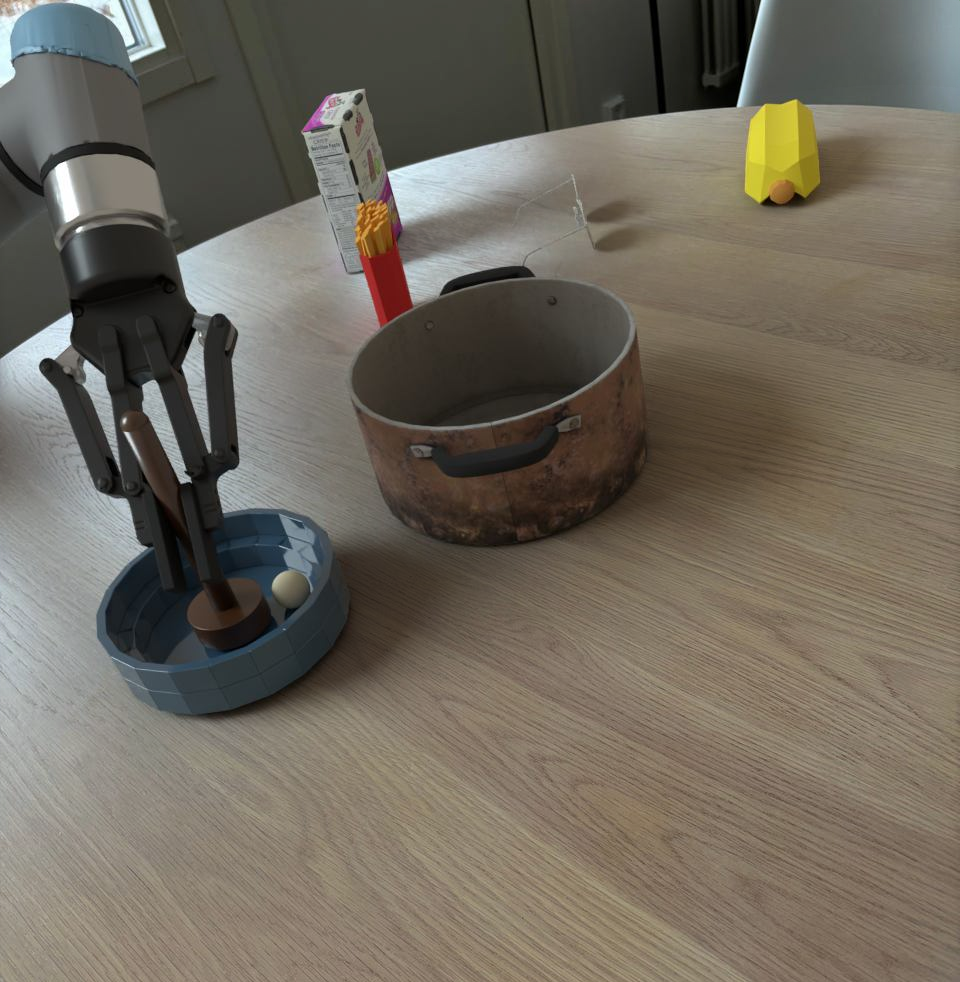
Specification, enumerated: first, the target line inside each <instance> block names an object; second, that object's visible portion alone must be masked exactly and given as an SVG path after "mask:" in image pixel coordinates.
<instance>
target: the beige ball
mask: <svg viewBox="0 0 960 982" xmlns="http://www.w3.org/2000/svg"><path fill="white" fill-rule="evenodd" d="M272 595H273V597H274V599H275V601H276V602H277V603H278V604H279V605H281V606H282V607H285V608H289V609H293V608H298V607H300V606H302V605H303V604H304V603H305V602H306V600H307V599H308V597H309V596H310V584H309V581H308V579H307V578H306V577H305V576H304V575H303V574H302V573H300V572H297V571H293V570H289V571H285V572H282V573H280V574H279V575H278V576H277V577H276V578H275V580H274V581H273V584H272Z"/></svg>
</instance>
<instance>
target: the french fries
mask: <svg viewBox="0 0 960 982" xmlns="http://www.w3.org/2000/svg"><path fill="white" fill-rule="evenodd" d="M365 204H366V206H364V204H363V202H362V204H361V203H360V204H359V205H358V207H357V213H358V215H359V216H358V217H357V221H356V223H357V228H356V229H355V233H356V236H357V238H356V239H355V243H356V245H357V248H358V250H359V253H360V255H359V257H360V261H361V264H362V267H363V270H364V272H363V274H364V277H365V280H366V283H367V287H368V290H369V294H370V296H371V301H372V303H373V307H374V310H375V313H376V317H377V320H378V323H379V327H380V328H381V327H383V326H384V325H386V324H387V323H388V322H390V321H391V320H393V319H394V318H396V317H397V316H399V315H401V314H403V313H405V312H407V311H408V310H410V309H412V308H414V304H413V300H412V295H411V293H410V289H409V288H410V287H409V284H408V281H407V277H406V276H407V275H406V273H405V269H404V266H403V262H402V257H401V253H400V250H399V245H398V242H397V241H398V240H397V241H396V238H395V234H394V230H393V227H392V226H390V219H389V211H388V207H387V205H386V203H385V204H384V205H383V203H382V200H381V201H380V202H379V203H378V204H377V207H376V201H375V200H373V201H372V202H371V200H370V199H369V200H368V201H367V202H366V203H365Z"/></svg>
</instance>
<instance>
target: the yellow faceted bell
mask: <svg viewBox="0 0 960 982" xmlns="http://www.w3.org/2000/svg"><path fill="white" fill-rule="evenodd" d="M817 139H818V138H817V134H816V127H815V122H814V115H813V111H812V110H811V109H809V108H808V107H807V106H806V105H804V104H803V103H802V102H801V101H800V100H798V99H796V98H795V99H792V100H790V101H786V102H784V103H780V104H779V103H764V105H763V106H762V107H761V108H760V109H759V110H758V111H757V112H756V114H755V115H754V116H753V117H752V118H751V119H750V121H749V128H748V137H747V144H746V150H745V151H746V153H745V171H744V172H745V173H744V193H745V194H746V195H748V196H749V197H750V198H751V199H752V200H754V201H755V202H756V203H757V204H759V205H762V203H764V202H765V201H766V200H767V199H770V200H771V201H772V202H774V203H776V204H778V205H782V204H787V203H788V202H789V201H790V200H792V198H794V196H795V193H797V194H798V195H800V196H801V197H802V198H803V199H804V200H805V199H806V198H807V197H808V196H809V195H810V194H811V193H812V192H813V191H814V190H815V189H816V187H818V186H819V184H820V183H821V175H820V158H819V149H818V147H819V146H818V140H817Z"/></svg>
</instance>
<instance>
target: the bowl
mask: <svg viewBox="0 0 960 982" xmlns="http://www.w3.org/2000/svg"><path fill="white" fill-rule="evenodd" d="M223 515H224V519H225V524H224V529H223V530H219V531H215V532H212V533H213V537H214V541H215V546H216V550H217V554H218V558H219V563H220V566H221V568H222V570H223V572H224V574H225V576H226V578H227V579H230V578H248V579H251V580H253V581H255V582H257V583H258V584H259V585H260V587H261V589H262V591H263V593H264V595H265V598H266V600H267V602H268V604H269V606H270V609H271V618H270V621H269V623H268V625H267V626H266V628H265V629H264V630H263V631H262V632H261V633H260V634H259V635H258V636H257V637H256V638H254V639H253V640H251V641H250V642H248V643H246V644H244V645H241V646H239V647H236V648H232V649H226V650H214V649H210V648H207V647H205V646H204V645H203V644H201V642H200V641H199V639H198V637H197V636H196V634H195V632H194V630H193V628H192V626H191V624H190V622H189V621H188V618H187V612H188V608H189V606H190V604H191V602H192V601H193V599H194V598H195V597H196V596H197V595H198V594H199V593H200V592H201V591H203V588H202V586H201V584H200V582H199V580H198V578H197V576H196V574H195V572H194V571H193V569H192V567H191V565H190V563H189V561H188V559H187V557H186V555H185V553H184V551H183V549H182V547H181V545H180V543H179V541H178V539H177V537H176V539H177V544H178V548H179V552H180V557H181V561H182V565H183V570H184V574H185V579H186V583H187V587H188V592H184V593H181V594H175V593H171V592H167V591H164V590H163V586H162V581H161V577H160V573H159V568H158V564H157V559H156V555H155V551H154V547H151V548H148V547H146V548H145V549H144V550H143V551H142V552H140V553H139V554H138V555H137V556H135V557H134V558H133V559H132V560H130V561H129V562H128V563H126V565H125V566H124V567H123V568H122V570H121V571H120V572H119V573H118V574H117V575H116V576H115V578H114V579H113V581H112V582H111V583H110V584H109V585H108V587H106V589H105V592H104V594H103V596H102V599H101V601H100V603H99V607H98V609H97V611H96V614H95V619H96V620H95V621H96V639H97V640H98V642H99V643H100V645H101V646H102V648H103V650H104V651H105V653H106V655H107V656H108V658H109V659H110V661H111V663H112V664H113V666H114V668H115V669H116V671H117V673H118V674H119V675H120V677H121V678H122V681H124V683H125V685H126V686H127V687H128V689H129V691H130V692H131V693H132V695H133V696H134V698H135V699H136V700H139V701H140V702H142V703H144V704H146V705H148V706H150V707H152V708H154V709H156V710H158V711H160V712H166V713H175V714H184V715H191V716H196V715H203V714H211V713H219V712H225V711H232V710H234V709H237V708H240V707H242V706H246V705H248V704H251V703H253V702H256V701H259V700H261V699H265V698H267V697H270V696H272V695H273V694H275V693H277V692H278V691H280V690H282V689H283V688H285V687H287V686H288V685H290V684H292V683H293V682H295V681H296V680H298V679H299V678H301V677H303V676H304V675H305V674H307V672H309V671H310V669H312V667H314V666H315V665H316V664H317V662H319V661H320V660H321V659H322V658H323V657H324V656H325V655H326V654H327V653H328V652H329V651H330V650H331V649H332V647H333V646H334V644H335V643H336V640H337V639H338V638H339V635H340V634H341V633H342V631H343V629H344V627H345V625H346V623H347V621H348V615H349V608H350V602H351V593H350V590H349V588H348V585H347V582H346V578H345V577H344V574H343V571H342V569H341V566H340V563H339V560H338V558H337V555H336V552H335V550H334V548H333V545H332V543H331V540H330V537H329V534H328V532H327V531H326V530H325V529H324V528H323V527H321V526H320V525H319V524H318V523H317V522H315V521H314V519H312V518H310V517H309V516H307V515H304V514H300V513H297V512H294V511H291V510H288V509H284V508H265V507H264V508H263V507H251V508H244V509H239V510H234V511H228V512H227V511H225V512H223ZM289 570H293V571H297V572H300V573H302V574H303V575H304V576H305V577H306V578H307V579H308V581H309V584H310V596H309V597H308V599H307V600H306V602H305V603H304V604H303V605H302V606H300V607H298V608H293V609H289V608H285V607H282V606H281V605H279V604H278V603H277V602H276V601H275V599H274V597H273V595H272V584H273V581H274V580H275V578H276V577H277V576H278V575H279V574H280V573H282V572H285V571H289Z"/></svg>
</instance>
